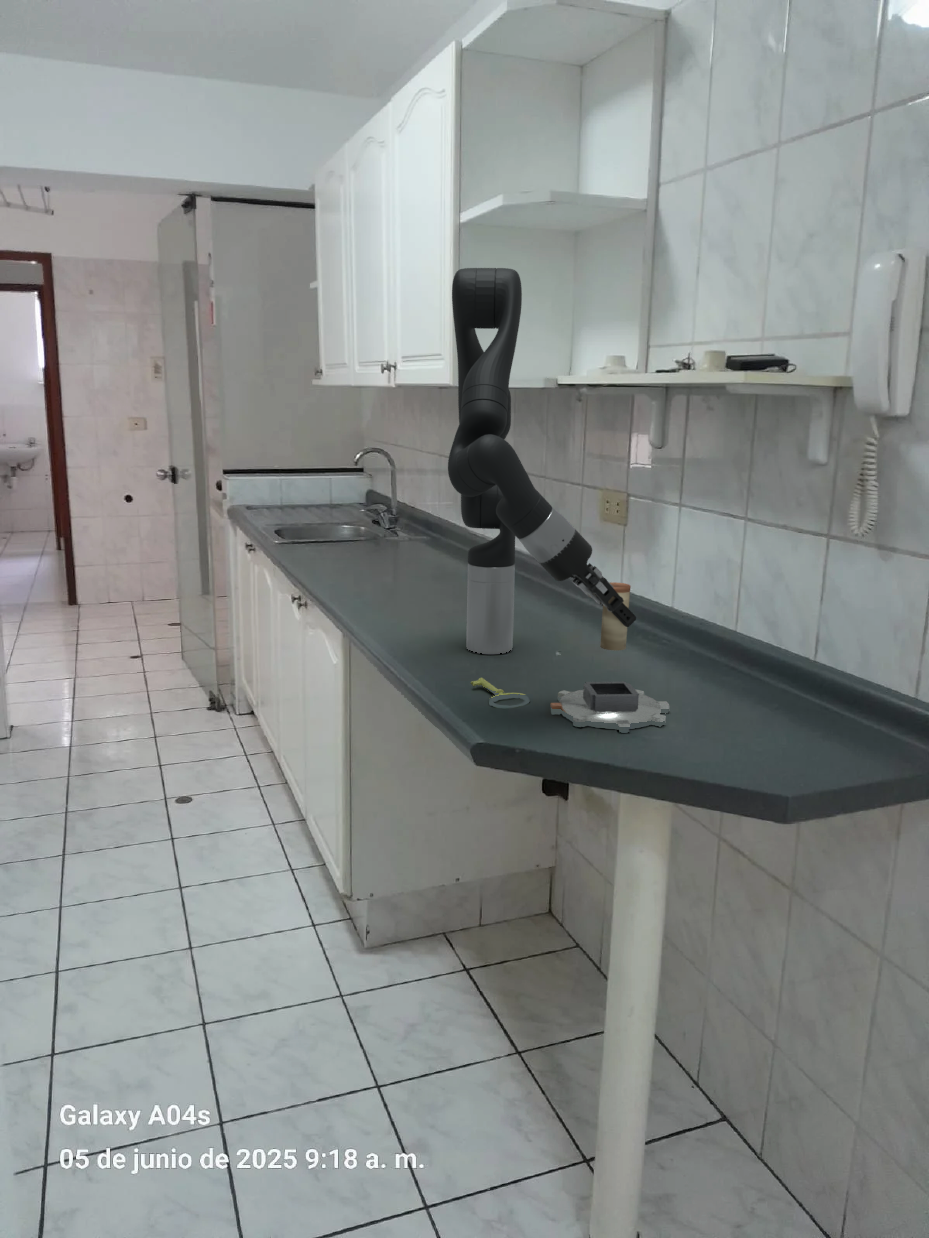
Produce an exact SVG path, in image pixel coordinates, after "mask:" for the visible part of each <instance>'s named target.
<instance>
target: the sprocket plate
mask: <svg viewBox="0 0 929 1238" xmlns="http://www.w3.org/2000/svg"><path fill="white" fill-rule="evenodd" d="M558 697H559V698H561V699H560V701H559V702H550V707H551V708H552V709H561V710H562V711H564V712H565V713H567V714H568V715H571V716H573V721H575V722H585V721H591V722H604V723H616V724H618V726H619V727H630V724H631V723H639V722H647V721H651V720H652V721H655V722H663V721H665V722H666V720H667V719H666V718H667V716H666V715H665V714H660V713H661V709H669V710H670V704H669V702H667V701H658V700H656V699H654V698H652V697H650V696H648V695H646V694H645V691H644V690H640V689H635V687H634V686H633V685H632V684H631V683H628V682H626V681H585V683H583V689H578V690H575V691H568V690H564V689H562V690H561V691H559V692H558V693H557V698H558ZM550 707H549V708H550Z"/></svg>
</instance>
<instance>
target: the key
mask: <svg viewBox="0 0 929 1238" xmlns="http://www.w3.org/2000/svg"><path fill="white" fill-rule="evenodd" d="M470 685H472V686H473V687H477V686H476V685H478V686H481V685H482V686H483V687H482V686H481V687H482V688H484V687H485V688H488V689H490V690H492V691H496V692H495V693H499V694H498V695H495V696H499V695H510V694H517V695H518V694H520V695H526V694H525V693H521V692H505V691H504V690H503V688H502V689H501V688H499V689H498V688H497V687H495V685H493V684H492V683H490V682H489V681H488V680H486V679H485V678H484V677H480V678H478V679H477V680H473V681H470ZM485 688H484V689H485ZM503 692H504V693H503ZM492 696H493V697H495V696H494V695H492ZM492 696H490V697H491V698H493V697H492Z"/></svg>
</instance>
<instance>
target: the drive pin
mask: <svg viewBox="0 0 929 1238" xmlns="http://www.w3.org/2000/svg"><path fill="white" fill-rule="evenodd" d="M609 583H610V584H611V585H612V586H613V588H614V590H615V591H616V592H617V593H618V594H619V596H620V597H622V598H623V600H624V602H623V603H624V605H625V606H626V607H627V608H628V609H629V610H630V597H631V596H630V595H631V587H632V586H631V585H630V584H629V583H624V582H612V581H611V582H609ZM614 599H615V598H614V597H612V598H611V599H610V600H609V601H608V603H609V604H610V603H611V602H612V601H613V600H614ZM601 613H602V614H601V629H600V641H599V643H600V644H599V648H601V649H603V650H606V651H607V650H608V651H613V652H614V651H616V652H617V651H623V650H626V649H627V637H628V636H627V635H628V627H626V626H624V625H623V624H622V623H621V622H620V621H619V620H618V619H617V618H616V616H615V615H614V614H613V613H611V612H610V611H608V610H607V608H606V607H605V606H604V605H603V606H602V612H601Z"/></svg>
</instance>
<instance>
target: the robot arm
mask: <svg viewBox="0 0 929 1238" xmlns="http://www.w3.org/2000/svg"><path fill="white" fill-rule="evenodd" d="M522 290H523V288H522V281H521V276H520V274H519V273H518V271H517V270H515V269H513V268H508V267H507V268H506V267H497V268H496V267H465V268H460V269H458V270H457V271H456V272H455V273H454V276H453V279H452V285H451V304H452V305H451V306H452V316H453V317H452V318H453V325H454V335H455V344H456V353H457V355H456V356H457V374H458V375H457V379H458V380H457V382H458V383H457V385H458V387H457V389H458V390H457V392H458V394H457V396H458V399H457V401H458V403H457V405H458V406H457V407H458V422H459V423H458V424H459V425H458V427H457V429H456V432H455V435H454V438H453V441H452V445H451V448H450V451H449V454H448V455H449V456H448V460H447V473H448V478H449V481H450V484H451V486H453V489H454V490H456V492H457V493H459V494H460V512H461V513H460V514H461V519H462V522H463V524H464V525H465V526H466V527H467V528H471V529H482V530H483V529H485V530H486V529H487V530H499V533H498V535H496V536H495V537H494V538H493V539H491V540H488V541H487V542H484V543H481V544H478V545H474V546H472V547H470V548H469V550H468V551H467V588H466V589H467V592H466V593H467V594H466V596H467V598H466V599H467V600H466V639H465V641H466V643H465V645H466V647H467V648H466V650H467V649H468V650H467V651H469V650H471V651H473V652H472V653H475V652H477V653H476V654H480V653H482V655H500V653H502V654H506V652H507V653H510V652H511V651H513V649H512V648H514V647H513V646H514V645H513V644H514V643H513V642H514V640H513V639H514V617H515V616H514V615H515V614H514V613H515V606H514V605H515V579H516V578H515V575H516V574H515V571H516V570H515V568H516V538H517V540H518V541H519V542H521V543H520V544H521V545H523V547H524V549H525V550H526V551H527V552H528V554H530V555H531V556H532V557H533V558H534V559H535V560H536V562H538V564H539V565H540V566H541V567H542V568H544V570H545V571H546V572H547V573H548V574H549V575H550V576H551V577H552V578H553V579H554V580H555V581H557V582H563V581H567V580H568V579H572V580H571V582H572V583H573V585H575V586H576V587H577V588H578V589H580V590H581V591H582V592H583V593H584V594H585V595H586V596H587V597H588V598H590V599H592V600H593V601H594V602H596V604H598V605H600V606H602V607H603V605H604V606H605V607H606V608H607V610H608V611H610V612H611V613H613V614H614V615H615V616H616V618H617V619H618V620H619V621H620V622H621V623H622V624H623V625H624V626H626V627H627V628H629V627H631V625H633V623H634V622H635V621H636V620H637V616H636V615H635V614H634V613H633V612H632V611H631V609H630V608H629V609H628V608H627V607H626V606H625V605H624V603H623V602H624V600H623V598H622V597H620V596H619V594H618V593H617V592H616V591H615V590H614V588H613V586H612V585H611V584H610V583H611V582H610V581H608V579H607V578H606V577H604V576H603V573H602V571H601V570H600V569H599V568H598V567H597V566H595V565H594V566H593V565H592V564H591V563H590V562H589V559H590V558H591V556H592V555H593V547H592V545H591V544H590V543H589V542H588V541H587V540H586V539H585V537H583V536H582V534H580V532H579V531H578V530H577V529H576V528H575V527H574V526H573V525H572V524H571V523H570V521H568V519H567V518H566V517H565V516H564V515H563V514H562V513H560V512H559V511H558V510H557V509H556V508H554V507H553V506H552V504H550V503H549V502H548V500H546V498H545V497H544V496H543V495H542V494H541V493H540V492H539V491H538V490H537V489H536V487H535V486H534V484H533V481H532V480H531V478H530V477H529V473H527V471H526V470H525V467H524V465H523V463H522V461H521V460H520V457H519V455H518V454H517V452H516V450H515V449H514V447H513V446H512V445H511V444H510V443H509V441H507V440H506V437H507V436H508V434H509V432H510V429H511V425H512V396H511V392H510V388H509V385H510V377H511V373H512V367H513V361H514V358H515V353H516V346H517V340H518V333H519V328H520V321H521V315H522V306H523V305H522V303H523V302H522V299H523V293H522ZM476 329H477V330H478V329H482V330H483V329H485V330H487V329H493V330H494V329H498V330H497V332H496V333H495V336H494V338H493V339H492V341H491V342H490V344H489V346H487V347H486V349H485V350H484V349H483V347H482V345H481V343H480V340H479V338H478V336H477V331H476ZM588 562H589V563H588ZM612 597H614V598H615V599H614V600H613V601H612V602H611V603H610V604H609V603H608V601H609V600H610V599H611V598H612ZM510 650H511V651H510ZM471 651H470V652H471ZM509 651H510V652H509Z"/></svg>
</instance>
